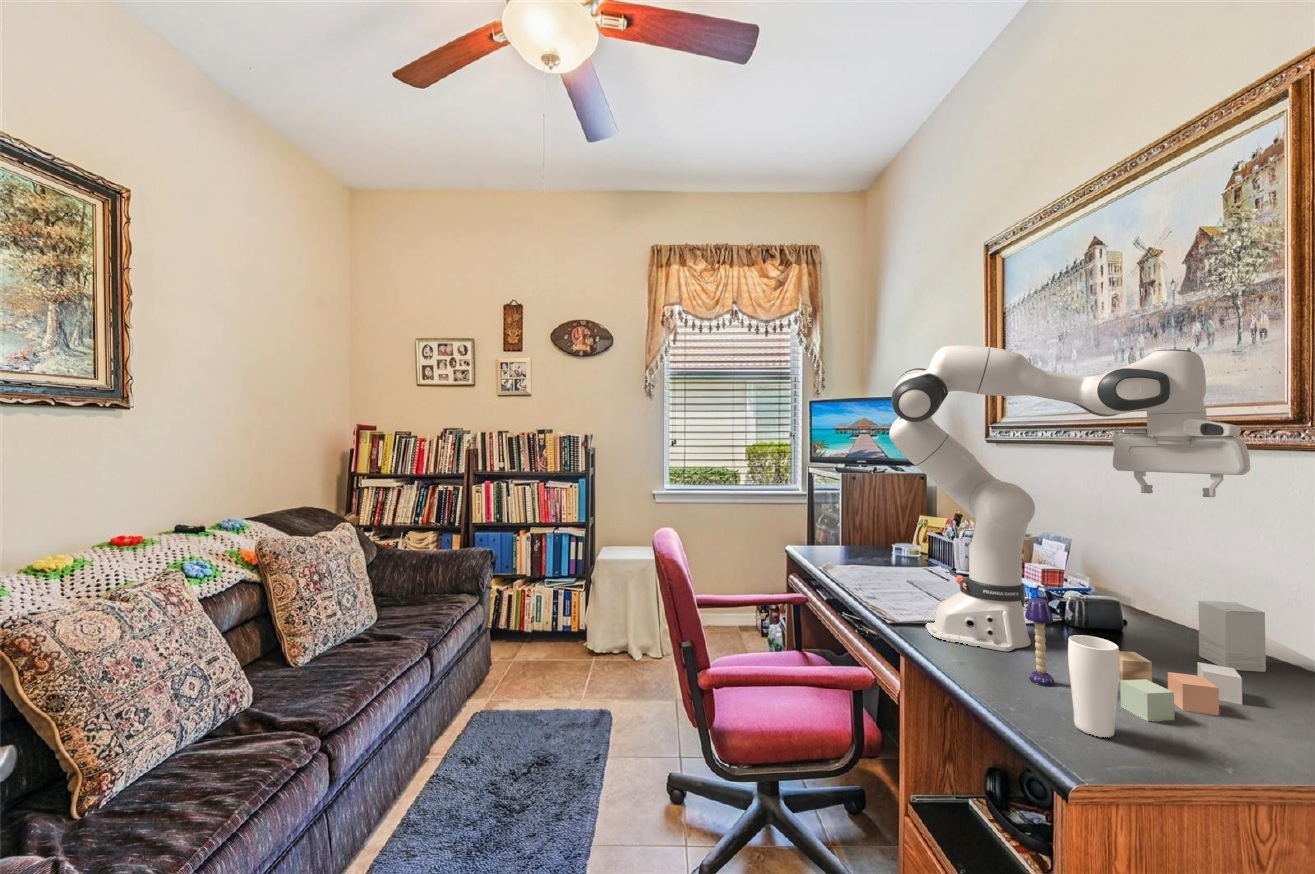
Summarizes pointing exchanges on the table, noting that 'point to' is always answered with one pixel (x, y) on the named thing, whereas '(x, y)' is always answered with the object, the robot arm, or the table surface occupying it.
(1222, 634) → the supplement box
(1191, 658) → the table surface
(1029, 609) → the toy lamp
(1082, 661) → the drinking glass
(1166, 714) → the sage block
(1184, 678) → the terracotta block
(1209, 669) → the grey block
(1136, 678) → the oak block
